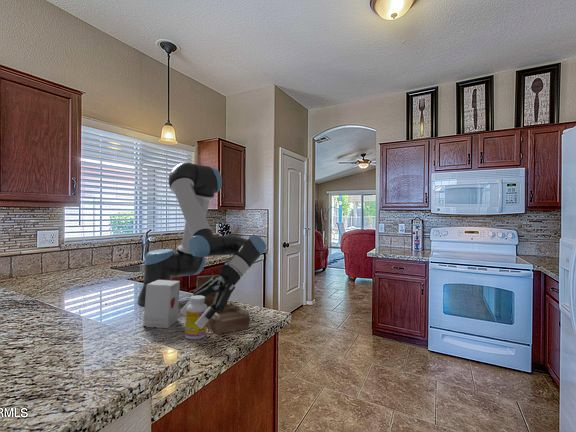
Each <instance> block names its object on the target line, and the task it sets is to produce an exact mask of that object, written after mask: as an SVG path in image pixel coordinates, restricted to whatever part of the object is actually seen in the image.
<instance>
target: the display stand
mask: <svg viewBox="0 0 576 432" xmlns="http://www.w3.org/2000/svg"><path fill="white" fill-rule="evenodd" d="M213 276H215V277H216V278H218V277H219V276H220V274H214V275H213V274H212V275H201V276H200V275H199V276H198V275H197V276H196V284H195V285H196V288H195V290H196V289H198V288H199V287H200V286H202V285H203V284H204V283H206V282H207V281H208V280H210V279H211V278H212V277H213ZM215 295H216V292H212V293H210V294H208V295H207V296H205V302H204V304H206V305H207V309H208V308H209V306H210V305H211V304H213V301H214V298H215ZM210 307H211V306H210ZM211 308H212V307H211ZM250 320H251V318H250V315H249V310H248V309H247V308H246V309H245V308H244V307H242V306H241V305H238V304H236V303H235V302H229V304H228V302H227V303H226V305H225V308H224V310H223V311H222V312H220V311H218V312H216V313H215V314H214V315H213V316H212V317H211V319H210V320H209V321H208V322H207V323H206V328H208V329H209V330H210V331H211V332H212V333H215V334H216V335H219V334H223V333H227V332H232V331H233V332H234V331H237V330H241V329H247V328H250Z"/></svg>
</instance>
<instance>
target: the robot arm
mask: <svg viewBox="0 0 576 432" xmlns="http://www.w3.org/2000/svg"><path fill="white" fill-rule="evenodd" d="M222 185H223V179H222V175H221V173H220V171H219V170H218V169H217V168H214V167H211V166H208V165H202V164H196V163H191V162H181V163H179V164H176V166H174V167H173V168H172V169H171V171H170V173H169V176H168V186H169V188H170V191H171V193H172V194H174V195H175V197H176V200H177V203H178V205H179V208H180V210H181V212H182V215H183V217H184V221H185V226H184V229H183V235H182V241H181V244H180V245H178V246H177V249H176V251H174V250H173V249H171V248H166V249H164V248H161V249H155V250H150V251H149V252H147V253H145V257H144V258H145V259H144V263H143V264H144V267H143V268H144V269H143V270H144V271H143V283H142V287H141V289H140V292H139V294H138V296H137V297H138V298H137V304H138V305H140V306H142V307H143V306H144V307H145V297H146V285H147V284H149V283H151V282H154V281H157V280H170V281H173V280H172V279H173V278H176V277H177V278H178V277H186V276H194V275H198V274H200V273H201V272H202V271H203V270H204V267H205V264H206V259H205V258H206V257H216V256H217V257H218V256H231V257H230V258H229V259H228V260H227V262H226V264H224V265H223V266H221V268H220V269H219V271H218V275H220V276H219V277H218V278H216V277H215V276H213V277H212V278H211V279H210V280H208V281H207V282H206V283H204V284H203V285H202V286H200V287H199V288H198V289H196V288H195V289H194V290H193V291H192V296H196V295H201V296H207V295H208V294H210V293H212V292H216V295H215V298H214V301H213V304H211V305H210V306H211V307H212V308H211V307H210V306H209V308H208V309H207V310H206V311H205V312H204V313H203V314H202V316H201V317H200V318H199V319H198V320H197V321H196V322H195V324H196V325H197V326H198V327H199V328H200V329H202V328H203V327H204V325H205V324H206V323H207V322H208V321H209V320H210V319H211V317H212V316H213V315H214V314H215V313H216V312H218V311H220V312H222V311H223V310H224V308H225V305H226V303H227V304H228V301H229V299H230V298H231V295H232V293H233V291H234V290H235V289H236V286H235V285H236V284H237V283H238V282H239V281H240V280H241V277H243V276H244V275H245V274H246V273H247V271H248V270H250V268H251V267H252V266H253V265H254V263H255V262H256V261H257V260H258V259H259V258H260V257H261V256H262V254H263V253H264V252H265V250H266V248H267V244H266V242H265V241H264V239H263V238H261V236H258V235H257V234H252V235H251V236H250V237H249V238H248V239H247V238H245V237H244V238H243V237H241V236H238V235H236V234H231V233H227V234H225V235H214V232H213V231H212V228H211V226H210V224H209V222H208V219H207V214H208V210H209V206H210V200H212V199H213V198H214V197H215V194H217V193H219V192H220V190H221V188H222ZM189 304H191V302H190V300H188V301H187V303H186V304H185V305H184V306H183V307H182V308H181V309H180V310H179V312H180V313H181V314H182V315H183V316H184V317H185V318H186V310H187V306H188V305H189Z"/></svg>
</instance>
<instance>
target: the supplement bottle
mask: <svg viewBox="0 0 576 432" xmlns="http://www.w3.org/2000/svg"><path fill="white" fill-rule="evenodd" d="M189 301H190V302H191V304H189V305H188V306H187V310H186V317H185V325H184V326H185V327H184V337H185V338H186V339H188V340H200V339H203V338H205V336H206V334H207V333H206V332H207V327H206V324H205V325H204V327H203V328H202V329H200V328H199V327H198V326H197V325H196V324H195V322H196V321H197V320H198V319H199V318H200V317H201V316H202V314H203V313H204V312H205V311H206V310H207V305H206V304H204V302H205V296H201V295H196V296H193V295H192V296H190V298H189Z"/></svg>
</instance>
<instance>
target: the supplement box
mask: <svg viewBox="0 0 576 432" xmlns="http://www.w3.org/2000/svg"><path fill="white" fill-rule="evenodd" d="M180 284H181V281H180V280H172V281H170V280H157V281H154V282H151V283H149V284H147V285H146V297H145V306H144V312H143V326H146V327H145V328H154V327H156V328H157V329H169V328H170V327H172V325H174V324H175V323H176V322H177V321H178V318H179V317H178V316H179V305H180V304H179V303H180V291H181V290H180V286H181V285H180ZM143 326H142V327H143ZM156 328H155V329H156Z"/></svg>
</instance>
